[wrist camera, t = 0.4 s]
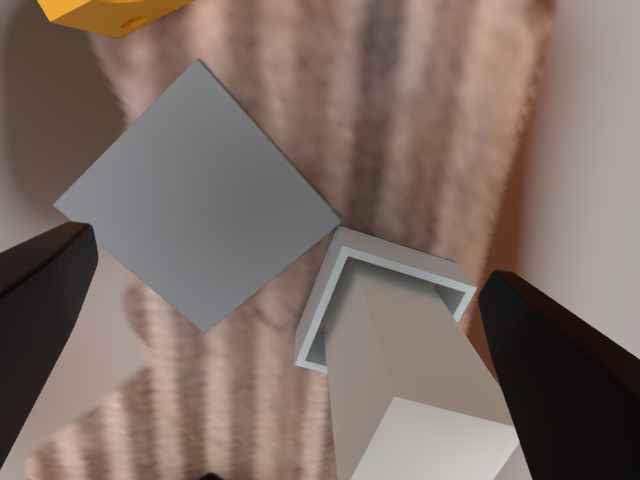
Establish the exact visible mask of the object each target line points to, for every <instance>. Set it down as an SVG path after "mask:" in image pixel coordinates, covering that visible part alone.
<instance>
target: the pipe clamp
mask: <svg viewBox="0 0 640 480" xmlns="http://www.w3.org/2000/svg"><path fill="white" fill-rule="evenodd" d="M37 1H38V2H39V4H40V6H41V7H42V9H43V11H44V12H45V14H46V16H47V17H48V19H49V21H50V22H53V23H57V24H61V25H66V26H70V27H74V28H78V29H82V30H86V31H90V32H94V33H98V34H103V35H107V36H111V37H115V38H119V39H120V38H122V37H124V36H126V35H128V34H130V33H131V32H133V31H135V30H137V29H139V28H141V27H143V26H145V25H147V24H149V23H151V22H153V21H155V20H157V19H159V18H161V17H163V16H165V15H167V14H169V13H171V12H173V11H175V10H177V9H179V8H181V7H183V6H185V5H187V4H189V3H191V2H193V1H195V0H37Z"/></svg>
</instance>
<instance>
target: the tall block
mask: <svg viewBox="0 0 640 480" xmlns="http://www.w3.org/2000/svg"><path fill="white" fill-rule="evenodd" d="M322 322H323V332H324V343H325V353H326V364H327V374H328V385H329V395H330V406H331V416H332V426H333V437H334V447H335V458H336V468H337V479H338V480H494V478H495V477H496V475H497V474H498V473H499V471H500V470H501V468H502V467H503V465H504V464H505V462H506V461H507V460H508V458H509V457H510V455H511V454H512V452H513V451H514V449H515V448H516V446H517V445H518V444H519V439H518V436H517V433H516V431H515V428H514V425H513V422H512V419H511V416H510V413H509V410H508V407H507V404H506V401H505V399H504V396H503V393H502V390H501V389H500V388H499V386H498V384H497V383H496V381H495V380H494V378H493V377H492V375H491V374H490V372H489V371H488V369H487V368H486V366H485V365H484V363H483V362H482V360H481V359H480V357H479V355H478V354H477V353H476V351H475V349H474V348H473V346H472V345H471V343H470V342H469V340H468V339H467V337H466V336H465V334H464V333H463V331H462V330H461V328H460V327H459V325H458V323H457V322H456V320H455V319H454V317H453V316H452V314H451V313H450V311H449V310H448V308H447V307H446V305H445V304H444V302H443V301H442V299H441V298H440V296H439V295H438V293H437V292H436V290H435V289H434V287H433V285H432V284H431V282H430V281H427V280H424V279H421V278H417V277H414V276H411V275H408V274H404V273H401V272H398V271H395V270H392V269H388V268H385V267H382V266H379V265H375V264H372V263H369V262H366V261H363V260H359V259H356V258H353V257H350V256H349V257H348V259H347V262H346V264H345V267H344V269H343V272H342V274H341V276H340V279H339V281H338V284H337V286H336V289H335V291H334V293H333V296H332V298H331V301H330V303H329V306H328V308H327V310H326V313H325V315H324V318H323V320H322Z"/></svg>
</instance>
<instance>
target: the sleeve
mask: <svg viewBox="0 0 640 480" xmlns="http://www.w3.org/2000/svg"><path fill="white" fill-rule="evenodd" d="M348 256H350V257H353V258H356V259H359V260H363V261H366V262H369V263H372V264H375V265H379V266H382V267H385V268H388V269H392V270H395V271H398V272H401V273H404V274H408V275H411V276H414V277H417V278H421V279H424V280H427V281H430V282H433V283H437V285H436V287H435V290H436V292H437V293H438V295H439V296H440V298H441V299H442V301H443V302H444V304H445V305H446V307H447V308H448V310H449V311H450V313H451V314H452V316H453V317H454V319H455V320H456V322H457V323H458V322H459V320H460V318H461V316H462V314H463V313H464V311H465V309H466V307H467V305H468V304H469V302H470V300H471V298H472V296H473V294H474V293H475V291H476V289H477V287H476V286H475V285H474V284H473V282H472V281H471V280H470V279H469V278H468V277H467V275H466V274H465V273H464V272H463V271H462V270H461V269H460V267H459V266H458V265H457V264H456V263H454V262H451V261H448V260H445V259H442V258H439V257H436V256H433V255H429V254H426V253H423V252H420V251H417V250H414V249H411V248H408V247H405V246H402V245H398V244H395V243H392V242H389V241H386V240H383V239H380V238H377V237H374V236H371V235H367V234H364V233H361V232H358V231H355V230H352V229H349V228H346V227H343V226H340V225H338V226H337V227H336V229H335V232H334V234H333V237H332V239H331V242H330V245H329V247H328V250H327V252H326V255H325V257H324V260H323V263H322V265H321V268H320V270H319V273H318V275H317V278H316V281H315V283H314V286H313V288H312V291H311V293H310V296H309V299H308V301H307V304H306V306H305V309H304V311H303V314H302V317H301V319H300V322H299V324H298V327H297V329H296V332H295V365H296V366H300V367H304V368H308V369H312V370H316V371H320V372H323V373H327V364H326V353H325V343H324V334H322V333H318V332H317V330H318V328H319V325H320V323H321V320H322V318H323V315H324V313H325V310H326V308H327V306H328V303H329V301H330V298H331V296H332V293H333V291H334V289H335V286H336V284H337V281H338V279H339V276H340V274H341V272H342V269H343V267H344V264H345V262H346V259H347V257H348Z"/></svg>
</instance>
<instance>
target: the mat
mask: <svg viewBox="0 0 640 480" xmlns="http://www.w3.org/2000/svg"><path fill="white" fill-rule="evenodd" d="M54 206H55V207H56V208H57V209H58V210H60V211H61V212H62V213H63V214H65V215H66V216H67V217H68V218H69V219H70V220H71V221H74V222H83V223H89V224H91V225H92V227H93V229H94V233H95V239H96V242H97V243H99V244H100V245H101V246H102V247H103V248H104V249H106V250H107V251H108V252H109V253H111V254H112V255H113V256H114V257H115V258H116V259H117V260H119V261H120V262H121V263H122V264H123V265H124V266H126V267H127V268H128V269H129V270H130V271H131V272H133V273H134V274H135V275H136V276H137V277H139V278H140V279H141V280H142V281H143V282H144V283H146V284H147V285H148V286H149V287H150V288H152V289H153V290H154V291H155V292H156V293H157V294H159V295H160V296H161V297H162V298H163V299H164V300H166V301H167V302H168V303H169V304H170V305H172V306H173V307H174V308H175V309H176V310H177V311H179V312H180V313H181V314H182V315H183V316H184V317H186V318H187V319H188V320H189V321H190V322H192V323H193V324H194V325H195V326H196V327H197V328H199V329H200V330H201V331H202V332H203V333H204V334H205V333H206V332H207V331H209V330H210V329H211V328H212V327H214V326H215V325H216V324H217V323H218V322H220V321H221V320H222V319H223V318H225V317H226V316H227V315H228V314H230V313H231V312H232V311H233V310H234V309H236V308H237V307H238V306H239V305H241V304H242V303H243V302H244V301H246V300H247V299H248V298H249V297H250V296H252V295H253V294H254V293H255V292H257V291H258V290H259V289H260V288H262V287H263V286H264V285H265V284H266V283H268V282H269V281H270V280H271V279H273V278H274V277H275V276H276V275H278V274H279V273H280V272H281V271H282V270H284V269H285V268H286V267H287V266H289V265H290V264H291V263H292V262H294V261H295V260H296V259H297V258H299V257H300V256H301V255H302V254H303V253H305V252H306V251H307V250H308V249H310V248H311V247H312V246H313V245H315V244H316V243H317V242H318V241H319V240H321V239H322V238H323V237H324V236H326V235H327V234H328V233H329V232H331V231H332V230H333V229H334V228H335V227H337V226H338V225H339V224H340V223H342V221H341V218H340V217H339V216H338V215H337V213H336V212H335V211H334V210H333V209H332V208H331V207H330V206H329V204H328V203H327V202H326V201H325V200H324V199H323V198H322V197H321V195H320V194H319V193H318V192H317V191H316V190H315V189H314V188H313V186H312V185H311V184H310V183H309V182H308V181H307V180H306V178H305V177H304V176H303V175H302V174H301V173H300V172H299V171H298V169H297V168H296V167H295V166H294V165H293V164H292V163H291V162H290V160H289V159H288V158H287V157H286V156H285V155H284V154H283V153H282V151H281V150H280V149H279V148H278V147H277V146H276V145H275V143H274V142H273V141H272V140H271V139H270V138H269V137H268V136H267V134H266V133H265V132H264V131H263V130H262V129H261V128H260V127H259V125H258V124H257V123H256V122H255V121H254V120H253V119H252V118H251V116H250V115H249V114H248V113H247V112H246V111H245V110H244V108H243V107H242V106H241V105H240V104H239V103H238V102H237V101H236V99H235V98H234V97H233V96H232V95H231V94H230V93H229V92H228V90H227V89H226V88H225V87H224V86H223V85H222V84H221V83H220V81H219V80H218V79H217V78H216V77H215V76H214V75H213V73H212V72H211V71H210V70H209V69H208V68H207V67H206V66H205V64H204V63H203V62H202V61H201V60H200V59H196V60H195V61H194V62H193V63H192V64H191V65H190V66H189V67H188V68H187V69H186V70H185V71H184V72H183V73H182V74H181V75H180V76H179V77H178V78H177V79H176V80H175V81H174V82H173V83H172V84H171V85H170V86H169V87H168V88H167V89H166V90H165V91H164V92H163V93H162V94H161V95H160V96H159V98H158V99H157V100H156V101H155V102H154V103H153V104H152V105H151V106H150V107H149V108H148V109H147V110H146V111H145V112H144V113H143V114H142V115H141V116H140V117H139V118H138V119H137V120H136V121H135V122H134V123H133V124H132V125H131V126H130V127H129V128H128V129H127V130H126V131H125V132H124V133H123V134H122V135H121V136H120V137H119V138H118V139H117V140H116V141H115V142H114V143H113V144H112V145H111V146H110V147H109V148H108V149H107V151H105V152H104V154H103V155H102V156H101V157H100V158H99V159H98V160H97V161H96V162H95V163H94V164H93V165H92V166H91V167H90V168H89V169H88V170H87V171H86V172H85V173H84V174H83V175H82V176H81V177H80V178H79V179H78V180H77V181H76V182H75V183H74V184H73V185H72V186H71V187H70V188H69V189H68V190H67V191H66V192H65V193H64V194H63V195H62V196H61V197H60V198H59V199H58V200H57V201H56V202H55V204H54Z"/></svg>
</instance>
